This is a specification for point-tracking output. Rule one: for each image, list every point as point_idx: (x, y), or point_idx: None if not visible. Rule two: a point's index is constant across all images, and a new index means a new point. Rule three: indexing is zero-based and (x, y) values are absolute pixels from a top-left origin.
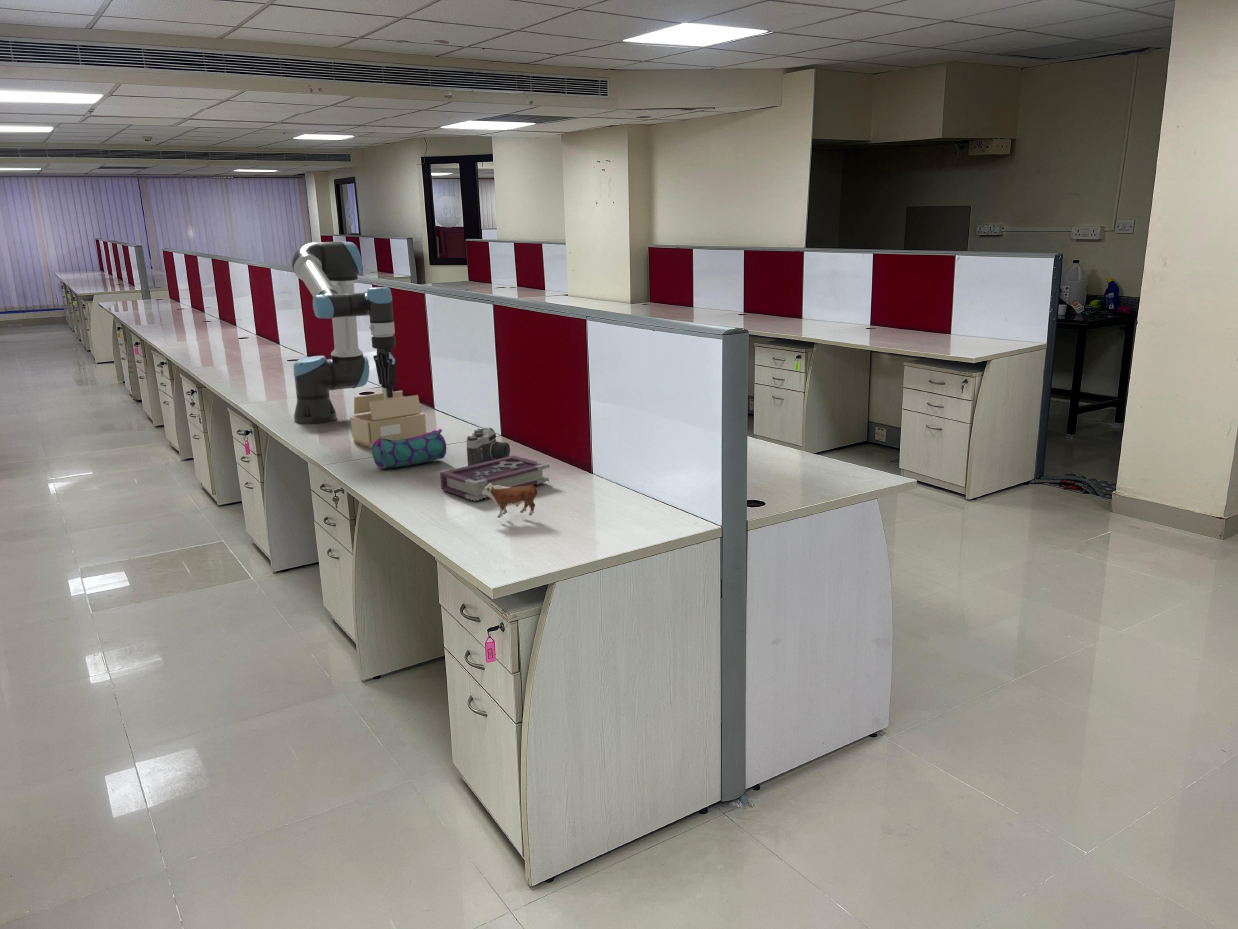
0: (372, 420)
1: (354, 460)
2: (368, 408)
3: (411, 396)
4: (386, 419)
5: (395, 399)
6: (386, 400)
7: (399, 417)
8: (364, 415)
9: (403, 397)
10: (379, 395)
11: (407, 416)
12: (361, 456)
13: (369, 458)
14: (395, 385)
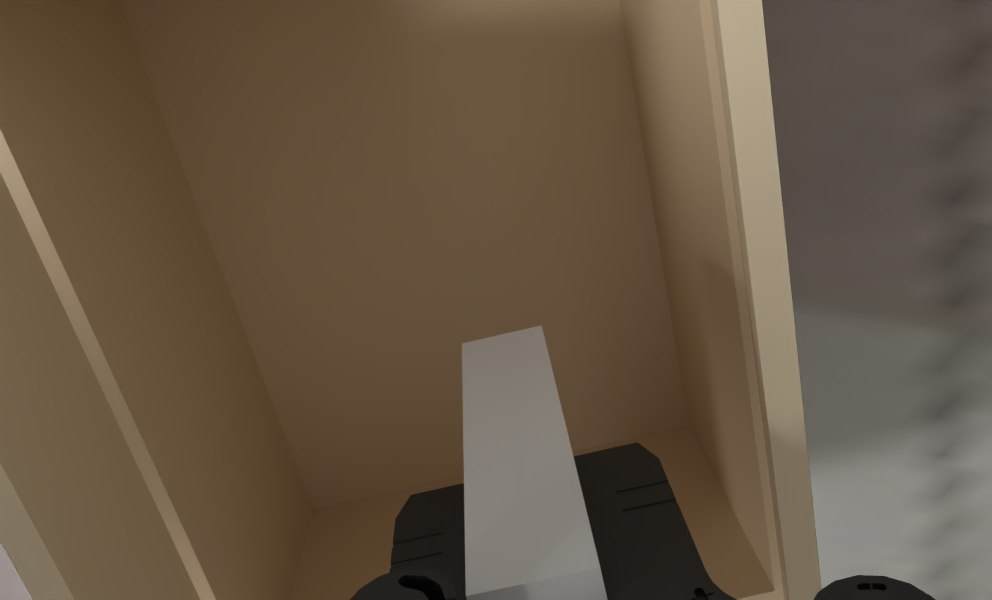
0: (205, 451)
1: (953, 592)
2: (180, 598)
3: (759, 8)
4: (134, 271)
5: (802, 407)
6: (816, 575)
7: (54, 76)
8: (220, 584)
9: (784, 232)
10: (77, 579)
11: (719, 113)
12: (867, 536)
13: (975, 497)
14: (900, 584)
